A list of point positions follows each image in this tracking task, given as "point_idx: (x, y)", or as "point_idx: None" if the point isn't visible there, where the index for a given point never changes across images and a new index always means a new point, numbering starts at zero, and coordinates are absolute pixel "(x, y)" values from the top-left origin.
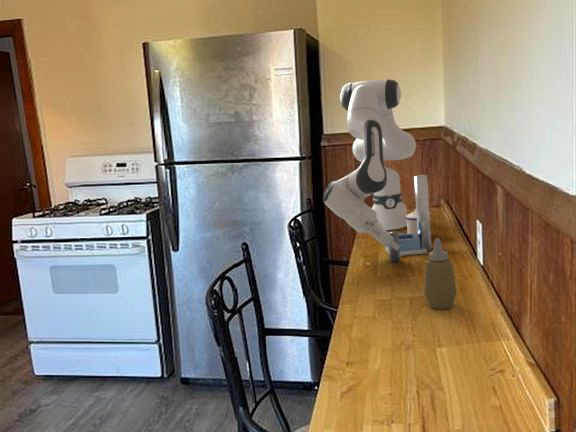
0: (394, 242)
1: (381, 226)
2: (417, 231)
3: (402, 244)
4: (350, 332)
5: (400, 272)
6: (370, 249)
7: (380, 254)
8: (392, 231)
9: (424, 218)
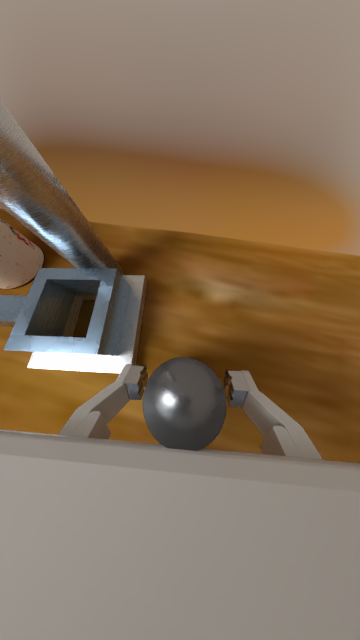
0: (275, 407)
1: (80, 621)
2: (7, 255)
3: (113, 328)
4: None
5: (306, 389)
6: (16, 414)
7: (91, 397)
8: (153, 396)
9: (39, 167)
